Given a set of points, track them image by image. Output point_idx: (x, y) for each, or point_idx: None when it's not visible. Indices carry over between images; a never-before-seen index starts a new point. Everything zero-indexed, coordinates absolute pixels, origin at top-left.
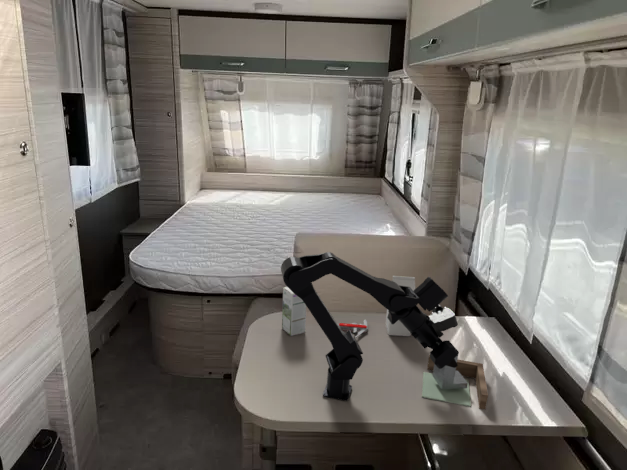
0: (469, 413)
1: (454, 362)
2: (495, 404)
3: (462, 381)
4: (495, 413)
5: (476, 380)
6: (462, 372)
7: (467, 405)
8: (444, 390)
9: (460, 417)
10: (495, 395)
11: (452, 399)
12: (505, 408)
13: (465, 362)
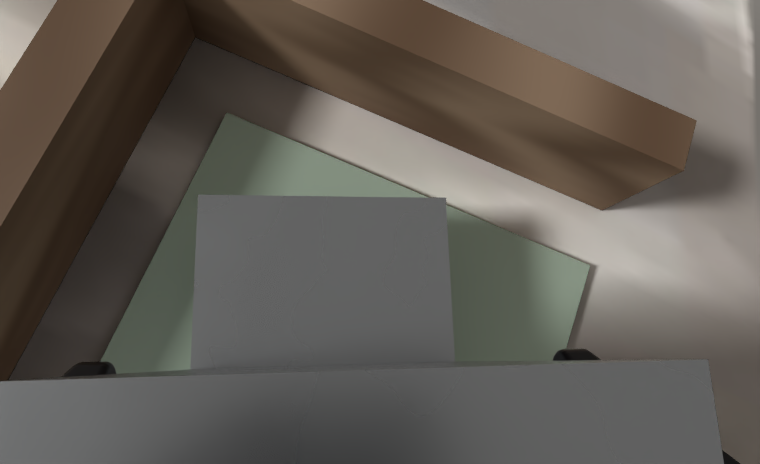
0: (664, 316)
1: None
2: None
3: (414, 240)
4: None
5: (276, 55)
6: (131, 119)
7: (581, 290)
8: None
9: (716, 412)
10: (440, 5)
11: None
12: (592, 21)
13: (82, 42)
